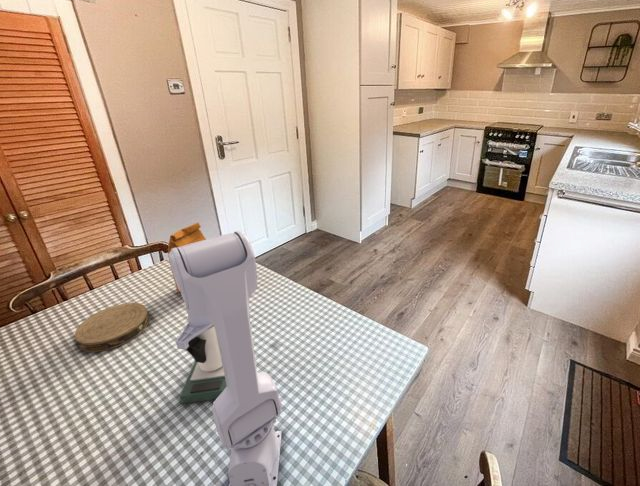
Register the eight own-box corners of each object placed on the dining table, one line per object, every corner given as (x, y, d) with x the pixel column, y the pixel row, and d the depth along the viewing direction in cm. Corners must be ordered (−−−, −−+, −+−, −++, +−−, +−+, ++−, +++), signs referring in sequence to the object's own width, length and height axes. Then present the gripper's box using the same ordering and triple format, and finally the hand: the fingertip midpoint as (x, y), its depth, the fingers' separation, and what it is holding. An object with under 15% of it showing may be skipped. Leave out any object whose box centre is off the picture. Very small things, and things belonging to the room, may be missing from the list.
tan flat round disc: (133, 304, 96) (131, 296, 95) (160, 322, 88) (158, 314, 87) (68, 336, 83) (64, 328, 82) (93, 361, 75) (89, 352, 74)
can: (200, 355, 74) (189, 316, 70) (228, 347, 77) (220, 308, 72) (198, 376, 69) (187, 335, 64) (229, 366, 71) (221, 326, 67)
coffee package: (224, 278, 109) (213, 222, 101) (194, 298, 98) (179, 238, 90) (203, 272, 113) (191, 218, 104) (172, 291, 102) (156, 233, 94)
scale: (230, 396, 67) (228, 388, 66) (181, 403, 65) (178, 395, 64) (242, 350, 79) (241, 342, 78) (201, 355, 77) (199, 347, 76)
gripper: (207, 280, 73) (217, 324, 78) (157, 321, 60) (172, 371, 65) (233, 284, 72) (241, 328, 77) (187, 327, 59) (201, 377, 64)
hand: (211, 348), depth 71 cm, fingers open, 7 cm apart
